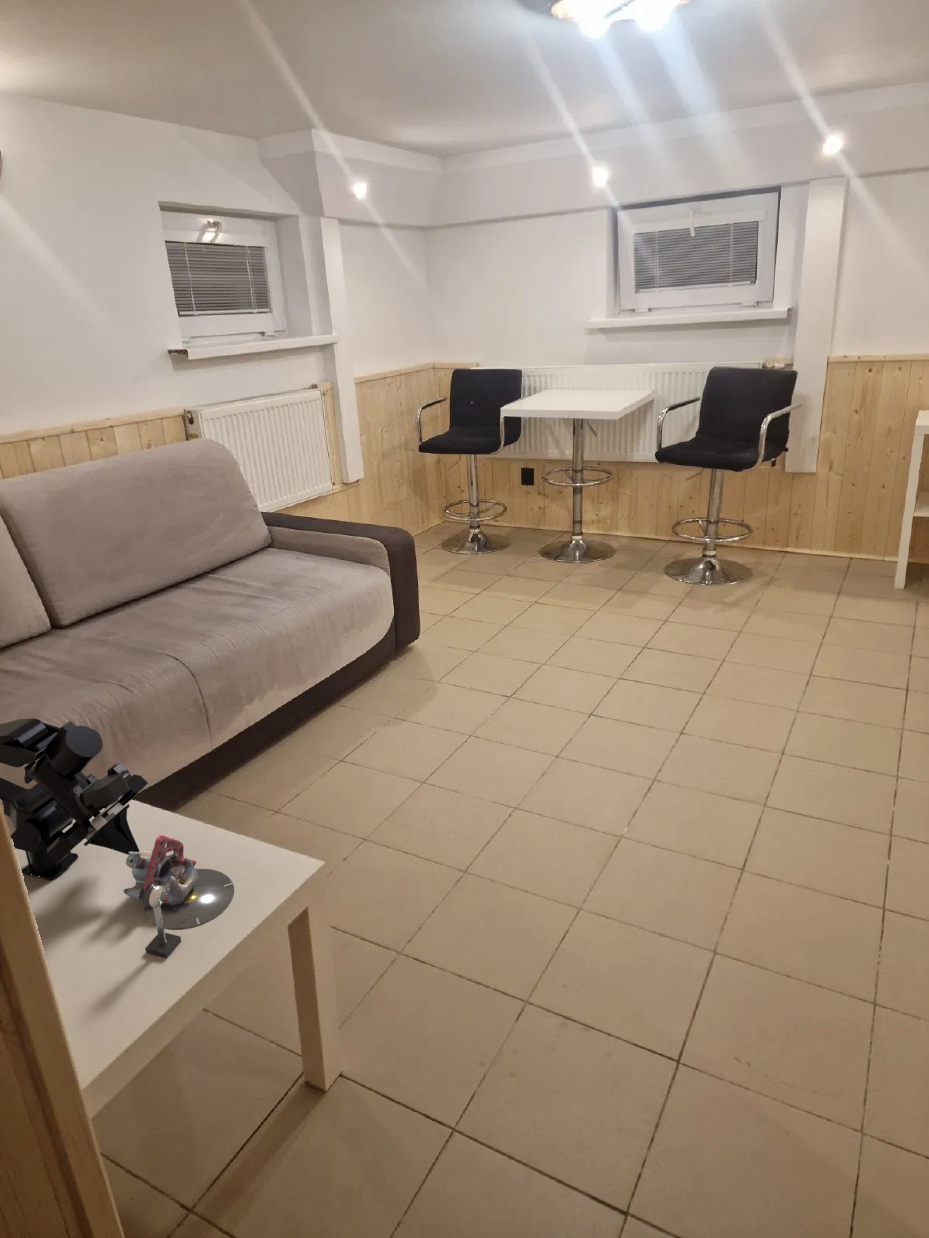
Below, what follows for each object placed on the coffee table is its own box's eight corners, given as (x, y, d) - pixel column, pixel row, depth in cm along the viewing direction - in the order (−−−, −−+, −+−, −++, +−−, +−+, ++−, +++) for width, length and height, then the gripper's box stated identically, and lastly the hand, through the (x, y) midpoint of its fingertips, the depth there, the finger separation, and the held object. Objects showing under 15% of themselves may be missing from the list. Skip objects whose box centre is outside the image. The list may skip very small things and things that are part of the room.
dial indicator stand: (146, 953, 123) (134, 892, 119) (160, 936, 126) (150, 876, 122) (166, 958, 122) (155, 897, 118) (181, 941, 125) (171, 880, 121)
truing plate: (125, 918, 130) (125, 917, 130) (178, 862, 142) (178, 861, 142) (203, 937, 126) (202, 936, 126) (250, 878, 138) (250, 877, 138)
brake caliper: (186, 909, 128) (134, 853, 126) (142, 934, 132) (91, 880, 130) (221, 862, 138) (173, 810, 136) (178, 887, 142) (132, 836, 140)
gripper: (47, 793, 121) (123, 868, 122) (130, 731, 137) (195, 798, 138) (15, 828, 126) (88, 900, 127) (98, 764, 142) (162, 828, 144)
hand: (136, 853), depth 134 cm, fingers closed
